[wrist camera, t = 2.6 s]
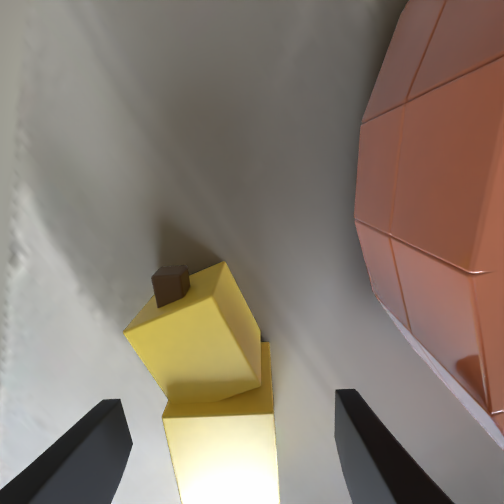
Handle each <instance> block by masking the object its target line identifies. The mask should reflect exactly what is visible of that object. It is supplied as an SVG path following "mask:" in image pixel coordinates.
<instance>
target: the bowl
mask: <svg viewBox="0 0 504 504" xmlns="http://www.w3.org/2000/svg"><path fill="white" fill-rule="evenodd" d="M362 123H363V124H361V126H360V139H359V153H358V167H357V180H356V194H355V208H354V218H355V225H356V229H357V233H358V237H359V241H360V245H361V248H362V252H363V256H364V260H365V264H366V268H367V271H368V275H369V279H370V283H371V287H372V291H373V292H374V294H375V297H376V298H377V300H378V301H379V302H380V304H381V305H382V307H383V308H384V309H385V311H386V312H387V314H388V315H389V316H390V318H391V319H392V320H393V322H394V323H395V325H396V326H397V327H398V329H399V330H400V331H401V333H402V334H403V336H404V337H405V338H406V340H407V341H408V343H409V344H410V345H411V347H412V348H413V349H414V350H415V351H416V352H417V353H418V355H419V356H420V357H421V358H422V359H423V360H424V361H425V362H426V364H427V365H428V366H429V367H430V368H431V369H432V370H433V372H434V373H435V374H436V375H437V376H438V377H439V378H440V379H441V381H442V382H443V383H444V384H445V385H446V386H447V387H448V389H449V390H450V391H451V392H452V393H453V394H454V395H455V396H456V397H457V398H458V400H459V401H460V402H461V403H462V405H463V406H464V407H465V408H466V409H467V410H468V411H469V412H470V414H471V415H472V416H473V417H474V418H475V419H476V420H477V422H478V423H479V424H480V425H481V426H482V427H483V428H484V429H485V431H486V432H487V433H488V434H489V435H490V436H491V437H492V439H493V440H494V441H495V442H496V443H497V444H498V445H499V446H500V448H501V449H502V450H503V451H504V0H408V2H407V3H406V5H405V8H404V9H403V11H402V12H401V15H400V17H399V20H398V23H397V26H396V28H395V31H394V34H393V36H392V39H391V42H390V45H389V47H388V50H387V53H386V56H385V58H384V61H383V64H382V66H381V69H380V72H379V75H378V77H377V80H376V83H375V86H374V88H373V91H372V94H371V96H370V99H369V102H368V105H367V107H366V110H365V113H364V116H363V118H362Z"/></svg>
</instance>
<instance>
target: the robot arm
mask: <svg viewBox="0 0 504 504" xmlns="http://www.w3.org/2000/svg"><path fill="white" fill-rule="evenodd" d="M335 441H336V445H337V450H338V454H339V458H340V463H341V467H342V471H343V475H344V478H345V481H346V484H347V487H348V491H349V494H350V497H351V500H352V503H353V504H455V503H454V502H453V501H452V500H451V499H450V498H449V497H448V496H447V495H446V494H445V493H444V492H443V491H442V490H441V489H440V488H439V486H438V485H437V484H436V483H435V482H434V481H433V480H432V479H431V478H430V477H429V476H428V475H427V474H426V472H425V471H424V470H423V469H422V468H421V467H420V466H419V465H418V464H417V463H416V461H415V460H414V459H413V458H412V457H411V456H410V455H409V453H408V452H407V451H406V450H405V449H404V448H403V447H402V445H401V444H400V443H399V442H398V441H397V440H396V439H395V437H394V436H393V435H392V434H391V433H390V431H389V430H388V429H387V428H386V427H385V425H384V424H383V423H382V422H381V421H380V419H379V418H378V417H377V416H376V414H375V413H374V412H373V411H372V409H371V408H370V407H369V406H368V404H367V403H366V402H365V400H364V399H363V398H362V397H361V395H360V394H359V393H358V391H356V390H355V389H339V390H336V391H335ZM132 445H133V442H132V439H131V435H130V432H129V428H128V425H127V421H126V418H125V414H124V411H123V407H122V404H121V400H120V399H106V400H102V401H101V402H99V403H98V404H97V405H96V406H95V407H94V408H92V409H91V410H90V411H89V412H88V413H87V414H86V415H85V416H84V417H82V418H81V419H80V420H79V421H78V422H77V423H76V424H75V425H74V426H73V427H71V428H70V429H69V430H68V431H67V432H66V433H65V434H64V435H63V436H61V437H60V438H59V439H58V440H57V441H56V442H55V443H54V444H53V445H51V446H50V447H49V448H48V449H47V450H46V451H45V452H44V453H43V454H41V455H40V456H39V457H38V458H37V459H36V460H35V461H34V462H32V463H31V464H30V465H29V466H28V467H27V468H26V469H24V470H23V471H22V472H21V473H20V474H19V475H17V476H16V477H15V478H14V479H13V480H12V481H10V482H9V483H8V484H7V485H6V486H4V487H3V488H2V489H1V490H0V504H111V502H112V499H113V497H114V495H115V493H116V490H117V488H118V486H119V483H120V481H121V478H122V475H123V472H124V470H125V467H126V464H127V461H128V458H129V455H130V451H131V448H132Z"/></svg>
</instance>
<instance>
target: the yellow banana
mask: <svg viewBox="0 0 504 504" xmlns="http://www.w3.org/2000/svg"><path fill="white" fill-rule="evenodd" d="M151 279H152V284H153V289H154V296H153V297H152V298H151V299H150V300H149V301H148V303H147V304H146V305H145V306H144V307H143V308H142V310H141V311H140V312H139V313H138V314H137V315H136V317H135V318H134V319H133V320H132V321H131V322H130V324H129V325H128V326H127V327H126V328H125V330H124V331H123V334H124V335H125V337H126V338H127V340H128V341H129V342H130V344H131V345H132V347H133V348H134V350H135V351H136V353H137V354H138V356H139V357H140V359H141V360H142V362H143V363H144V364H145V366H146V367H147V369H148V370H149V372H150V373H151V375H152V376H153V378H154V379H155V381H156V382H157V384H158V385H159V386H160V388H161V389H162V391H163V392H164V394H165V395H166V397H167V398H168V402H167V405H166V407H165V410H164V413H163V415H162V420H163V425H164V429H165V434H166V438H167V442H168V447H169V451H170V455H171V460H172V464H173V468H174V473H175V477H176V481H177V486H178V490H179V494H180V499H181V503H182V504H280V492H279V477H278V462H277V447H276V432H275V417H274V403H273V388H272V373H271V358H270V344H269V342H261V341H260V329H259V327H258V325H257V323H256V321H255V319H254V317H253V315H252V313H251V311H250V309H249V307H248V305H247V303H246V301H245V299H244V297H243V295H242V293H241V291H240V290H239V288H238V286H237V284H236V282H235V280H234V278H233V276H232V274H231V272H230V270H229V268H228V266H227V264H226V262H225V261H223V262H220V263H218V264H216V265H213V266H211V267H209V268H206V269H204V270H202V271H199V272H197V273H195V274H192V275H190V276H189V273H188V267H187V266H186V265H181V266H166V267H161V268H160V269H159V270H158V271H157V272H156V273H155V274H154V275H153V276H152V278H151Z"/></svg>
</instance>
